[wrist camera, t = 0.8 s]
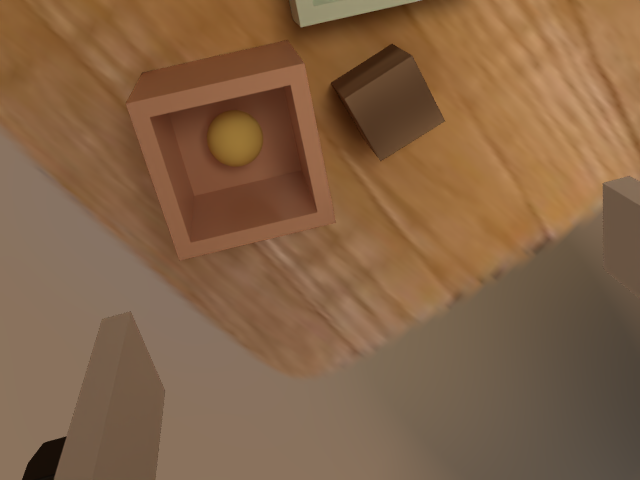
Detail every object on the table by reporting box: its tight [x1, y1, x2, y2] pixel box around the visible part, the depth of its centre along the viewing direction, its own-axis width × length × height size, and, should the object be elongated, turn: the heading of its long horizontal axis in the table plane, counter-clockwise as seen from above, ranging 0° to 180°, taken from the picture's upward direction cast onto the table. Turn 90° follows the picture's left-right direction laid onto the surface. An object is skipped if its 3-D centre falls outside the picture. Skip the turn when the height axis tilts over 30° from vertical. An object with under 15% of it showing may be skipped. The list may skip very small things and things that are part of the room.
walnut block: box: [332, 44, 445, 161], centre depth 34 cm, size 4×4×4 cm
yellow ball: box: [207, 110, 263, 167], centre depth 33 cm, size 3×3×3 cm
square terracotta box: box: [126, 40, 336, 261], centre depth 32 cm, size 8×8×7 cm
